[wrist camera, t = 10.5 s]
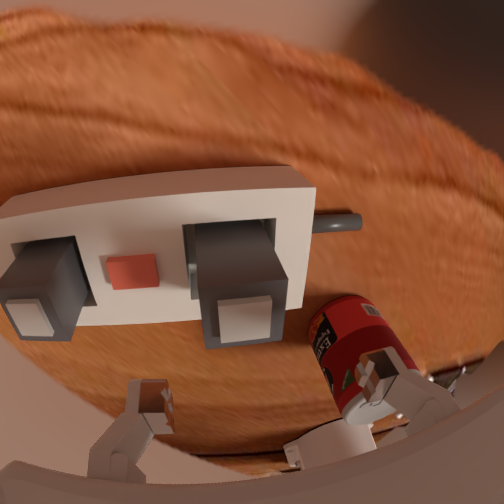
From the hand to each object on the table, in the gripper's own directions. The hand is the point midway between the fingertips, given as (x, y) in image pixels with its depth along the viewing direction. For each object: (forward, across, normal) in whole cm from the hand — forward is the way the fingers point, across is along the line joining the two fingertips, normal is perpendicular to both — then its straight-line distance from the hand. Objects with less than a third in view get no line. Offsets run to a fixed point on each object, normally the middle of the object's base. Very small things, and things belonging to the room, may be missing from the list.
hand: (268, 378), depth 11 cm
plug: (+11, +1, -1) cm, 11 cm away
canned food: (+14, -11, +11) cm, 21 cm away
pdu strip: (+13, +4, -1) cm, 14 cm away
